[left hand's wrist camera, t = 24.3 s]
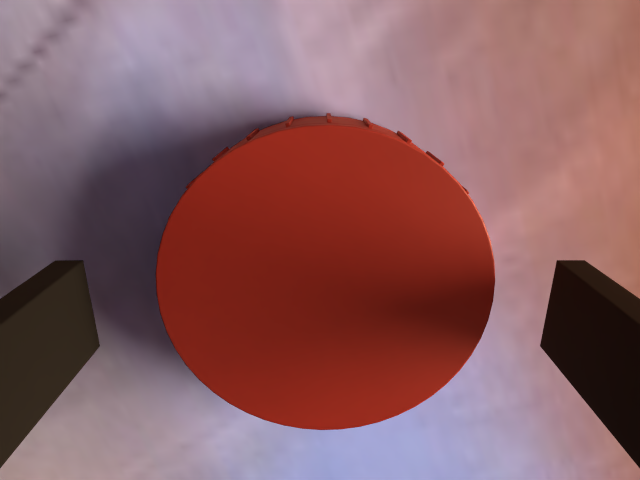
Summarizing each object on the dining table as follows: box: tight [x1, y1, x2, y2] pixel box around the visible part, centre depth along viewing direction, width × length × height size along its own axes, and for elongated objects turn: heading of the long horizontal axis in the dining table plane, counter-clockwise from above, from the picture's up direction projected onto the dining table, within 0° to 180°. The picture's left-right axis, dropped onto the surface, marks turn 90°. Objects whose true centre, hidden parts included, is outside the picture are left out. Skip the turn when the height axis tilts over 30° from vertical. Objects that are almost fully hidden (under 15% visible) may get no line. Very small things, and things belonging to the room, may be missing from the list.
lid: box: [156, 113, 495, 430], centre depth 13 cm, size 9×9×2 cm
